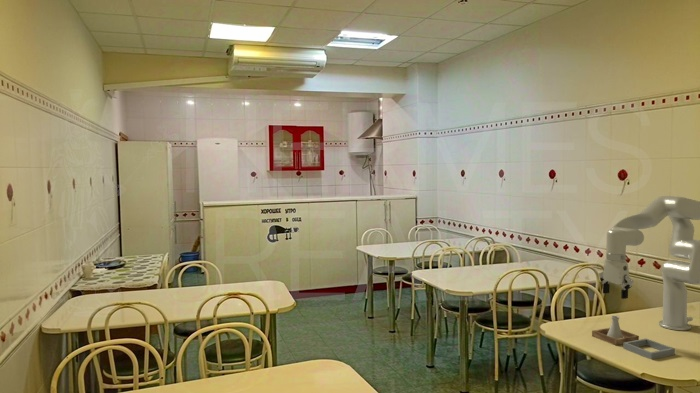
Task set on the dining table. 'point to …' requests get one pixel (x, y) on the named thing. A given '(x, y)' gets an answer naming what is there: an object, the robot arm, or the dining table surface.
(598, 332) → the bin walnut
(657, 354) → the bin grey
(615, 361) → the dining table surface
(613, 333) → the flask
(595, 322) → the dining table surface
